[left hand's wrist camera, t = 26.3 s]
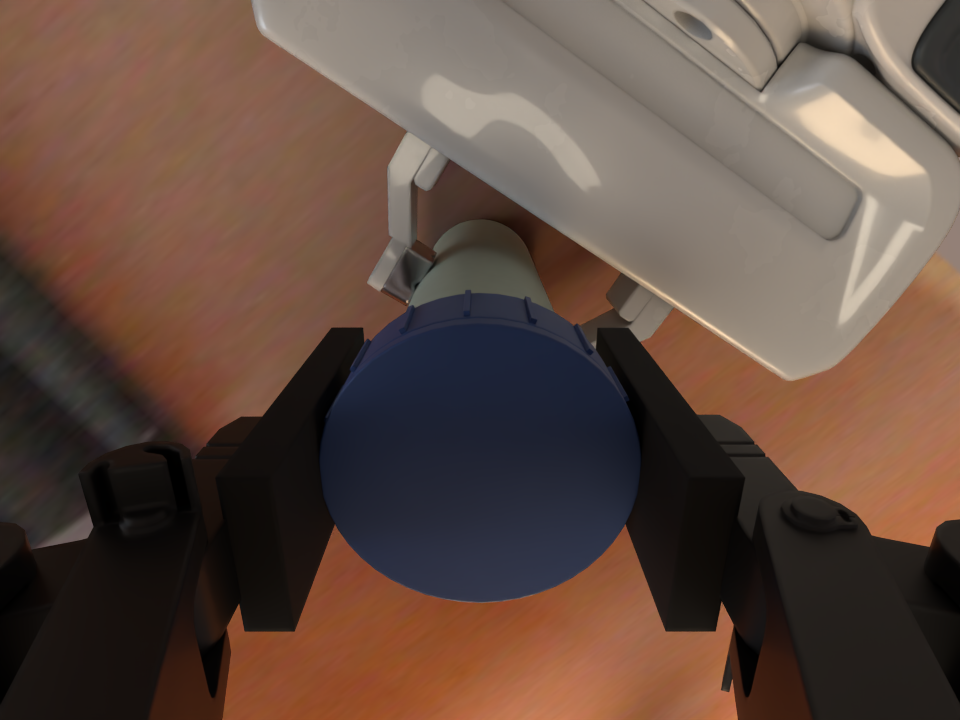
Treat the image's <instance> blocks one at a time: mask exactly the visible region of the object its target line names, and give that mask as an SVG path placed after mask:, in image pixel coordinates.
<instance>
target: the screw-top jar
mask: <svg viewBox="0 0 960 720" xmlns="http://www.w3.org/2000/svg"><path fill="white" fill-rule="evenodd" d="M433 250H434V251H435V252H437V254H436V257H435V258H434V262H433V264H432V266H431V267H430V269H429V271H428V272H427V274H426V276H425V277H424V278H423V280H422V281H421V282H419V283H418V285H417V288H416V290H415V293H414V295H413V297H412V299H411V301H410V304H409V306H411V305H414V307H415V308H416V307H418V306H420V305H422V304H425V303H427V302H430V301H433V300H436V299H439V298H443V297H448V296H453V295H458V294H465V290H471V293H491V294H501V295H507V296H512V297H517V298H521V299H524V298H525V296H527V297H530V298H531V301H532V302H533V303H536V304H538V305H540V306H542V307H544V308H547V309H549V310H551V311H553V312H554V310H553V308H552V306H551V303H550V301H549V299H548V296H547V294H546V291H545V289H544V287H543V284H542V282H541V280H540V277H539V275H538V273H537V270H536V268H535V265H534V263H533V261H532V258H531V256H530V254H529V251H528V249H527V247H526V245H525V244H524V242H523V241H522V239H521V238H520V237H519V236H518V235H517V234H516V233H515V232H514V231H513V230H511V229H510V228H509V227H507V226H505V225H503V224H501V223H498V222H495V221H491V220H484V219H475V220H469V221H465V222H462V223H460V224H457V225H455V226H454V227H452V228H450V229H449V230H448V231H447V232H445V233H444V234H443V235H442V236H441V237H440V239H439V240H438V241H437V243H436V244H435V246H434V248H433ZM409 306H408V307H409Z"/></svg>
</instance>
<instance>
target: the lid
mask: <svg viewBox="0 0 960 720" xmlns="http://www.w3.org/2000/svg"><path fill="white" fill-rule="evenodd" d="M349 370H350V371H351V373H350V375H349V376H348V378H347V380H346V382H345V384H344V385H342V387H341V389H340V391H339V392H338V394H337V396H336V398H335V400H334V401H333V403H332V405H331V407H330V409H329V410H328V412H327V414H326V416H325V418H324V422H325V425H324V429H323V433H322V437H321V441H320V450H319V464H320V473H321V482H322V490H323V497H324V500H325V502H326V505H327V508H328V511H329V513H330V515H331V517H332V519H333V521H334V523H335V525H336V527H337V528H338V530H339V531H340V533H341V534H342V536H343V537H344V538H345V540H346V541H347V543H348V544H349V545H350V546H351V547H352V548H353V549H354V550H355V551H356V553H357V554H358V555H359V556H360V557H361V558H362V559H364V560H365V561H366V562H367V563H368V564H370V565H371V566H372V567H373V568H374V569H376V570H377V571H379V572H380V573H382V574H383V575H385V576H386V577H388V578H389V579H391V580H393V581H395V582H397V583H399V584H401V585H403V586H405V587H407V588H409V589H412V590H415V591H417V592H420V593H423V594H426V595H430V596H433V597H437V598H441V599H446V600H453V601H460V602H477V603H485V602H501V601H507V600H513V599H519V598H523V597H527V596H530V595H534V594H538V593H540V592H543V591H545V590H548V589H551V588H553V587H556V586H558V585H559V584H561V583H563V582H565V581H567V580H569V579H571V578H573V577H574V576H576V575H577V574H578V573H580V572H581V571H583V570H584V569H586V568H587V567H588V566H590V565H591V564H592V563H593V562H594V561H595V560H597V559H598V558H599V557H600V556H601V555H602V554H603V553H604V552H605V551H606V550H607V548H608V547H609V546H610V545H611V544H612V543H613V542H614V540H615V539H616V537H617V536H618V534H619V533H620V532H621V530H622V529H623V527H624V525H625V523H626V521H627V519H628V517H629V515H630V513H631V511H632V509H633V506H634V503H635V500H636V497H637V493H638V485H639V477H640V467H641V449H640V441H639V436H638V432H637V429H636V425H635V422H634V419H633V417H632V415H631V412H630V410H629V408H628V406H627V404H626V402H627V401H629V398H628V396H627V394H626V392H625V391H624V389H623V387H622V385H621V384H620V382H619V380H618V378H617V377H616V375H615V373H614V371H613V370H612V368H611V366H609V367H606V365H605V363H604V361H603V360H602V358H601V357H600V355H599V354H598V352H597V351H596V349H595V348H594V346H593V345H592V344H591V343H590V342H589V341H588V339H587V338H586V336H585V334H584V332H583V330H582V329H581V327H580V326H579V325H578V324H576V325H575V326H573V325H572V324H571V323H570V322H568V321H567V320H565V319H564V318H562V317H561V316H559V315H558V314H556V313H554V312H553V311H551V310H549V309H547V308H544V307H542V306H540V305H538V304H536V303H533V302H532V301H531V298H530V297H527V296H525V298H524V299H521V298H517V297H512V296H507V295H501V294H491V293H471V290H465V294H458V295H453V296H448V297H443V298H439V299H436V300H433V301H430V302H427V303H425V304H422V305H420V306H418V307H416V308H415V307H414V305H411V306H409V307H408V309H407V311H406V313H404V314H402V315H401V316H399V317H398V318H397V319H395V320H394V321H392V322H391V323H389V324H388V325H387V326H386V327H385V328H384V329H383V330H381V331H380V332H379V333H378V334H377V335H376V336H375V337H374V338H373V340H372V341H370V340H369V339H367V340H366V341H365V343H364V344H363V346H362V348H361V350H360V352H359V353H358V355H357V357H356V359H355V360H354V362H353V364H352V366H351V367H350V369H349Z"/></svg>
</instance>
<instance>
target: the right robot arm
mask: <svg viewBox="0 0 960 720" xmlns="http://www.w3.org/2000/svg"><path fill="white" fill-rule="evenodd" d="M251 3H252V7H253V12H254V17H255V20H256V24H257V28H258V29H259V31H260V32H261V34H262V35H263V36H265V37H266V38H268V39H269V40H271V41H272V42H273V43H275V44H276V45H278V46H279V47H281V48H282V49H284V50H285V51H287V52H289V53H290V54H292V55H293V56H295V57H296V58H298V59H299V60H301V61H302V62H304V63H305V64H307V65H308V66H310V67H311V68H313V69H314V70H316V71H317V72H319V73H320V74H322V75H323V76H325V77H326V78H328V79H329V80H331V81H332V82H334V83H335V84H337V85H338V86H340V87H341V88H343V89H345V90H346V91H348V92H349V93H351V94H352V95H354V96H355V97H357V98H358V99H360V100H361V101H363V102H364V103H366V104H367V105H369V106H370V107H372V108H373V109H375V110H376V111H378V112H379V113H381V114H382V115H384V116H385V117H387V118H388V119H390V120H391V121H393V122H394V123H396V124H397V125H399V126H400V127H402V128H404V129H405V130H407V132H406V134H405V136H404V138H403V139H402V141H401V143H400V145H399V147H398V149H397V150H396V152H395V154H394V156H393V158H392V160H391V161H390V163H389V165H388V167H387V176H388V221H389V235H390V236H391V237H392V239H391V240H390V242H389V244H388V246H387V247H386V249H385V251H384V253H383V254H382V256H381V258H380V260H379V262H378V263H377V265H376V267H375V269H374V270H373V272H372V274H371V276H370V277H369V280H368V282H367V284H369V285H370V286H372V287H373V288H375V289H376V290H378V291H381V292H382V293H384V294H386V295H388V296H389V297H391V298H393V299H395V300H396V301H398V302H400V303H402V304H403V305H405V306H407V305H408V303H409V302H410V300H411V299H412V297H413V295H414V293H415V290H416V288H417V285H418V283H419V282H421V281H422V280H423V278H424V277H425V276H426V274H427V272H428V271H429V269H430V267H431V266H432V264H433V262H434V258H435V257H436V254H437V252H435V251H434V250H432V249H431V248H429V247H427V246H426V245H424V244H423V243H421V242H420V241H418V240H417V204H418V187H420V188H422V189H423V190H425V191H428V190H431V189H432V188H433V187H434V186H435V185H436V183H437V182H438V180H439V178H440V176H441V175H442V173H443V171H444V170H445V168H446V166H447V165H448V163H449V161H450V160H452V161H453V162H455V163H456V164H458V165H460V166H461V167H463V168H464V169H466V170H467V171H469V172H470V173H472V174H473V175H475V176H476V177H478V178H479V179H481V180H482V181H484V182H485V183H487V184H488V185H490V186H491V187H493V188H494V189H496V190H497V191H499V192H500V193H502V194H503V195H505V196H506V197H508V198H509V199H511V200H512V201H514V202H516V203H517V204H519V205H520V206H522V207H523V208H525V209H526V210H528V211H529V212H531V213H532V214H534V215H535V216H537V217H538V218H540V219H541V220H543V221H544V222H546V223H547V224H549V225H550V226H552V227H553V228H555V229H556V230H558V231H559V232H561V233H562V234H564V235H565V236H567V237H568V238H570V239H571V240H573V241H575V242H576V243H578V244H579V245H581V246H582V247H584V248H585V249H587V250H588V251H590V252H591V253H593V254H594V255H596V256H597V257H599V258H600V259H602V260H603V261H605V262H606V263H608V264H609V265H611V266H612V267H614V268H615V269H617V270H618V271H620V272H621V274H620V275H619V277H618V278H617V280H616V281H615V282H614V284H613V285H612V287H611V288H610V289H609V291H608V292H607V294H606V299H607V300H608V301H609V303H610V304H611V305H612V306H613V308H614V309H612V310H610V311H608V312H606V313H604V314H602V315H600V316H598V317H596V318H594V319H592V320H590V321H588V322H586V323H584V324H582V325H581V326H580V327H581V329H582V330H583V332H584V334H585V336H586V338H587V339H588V341H589V342H590V343H591V344H592V345H593V346H594V348H595V349H596V338H597V328H629V329H630V330H631V331H632V333H633V334H634V335H635V336H636V338H637V339H638V340H639V342H640V341H643V340H645V339H647V338H650V337H651V336H652V335H653V333H654V332H655V331H656V330H657V328H658V327H659V326H660V325H661V323H662V322H663V321H664V320H665V318H666V317H667V316H668V314H669V313H670V312H671V311H672V309H673V308H676V309H677V310H679V311H680V312H682V313H683V314H685V315H687V316H688V317H690V318H691V319H693V320H694V321H696V322H697V323H699V324H700V325H702V326H703V327H705V328H706V329H708V330H709V331H711V332H712V333H714V334H715V335H717V336H718V337H720V338H721V339H723V340H724V341H726V342H727V343H729V344H730V345H732V346H733V347H735V348H736V349H738V350H739V351H741V352H742V353H744V354H746V355H747V356H749V357H750V358H752V359H753V360H755V361H756V362H758V363H759V364H761V365H762V366H764V367H765V368H767V369H768V370H770V371H771V372H773V373H774V374H776V375H777V376H779V377H780V378H782V379H784V380H787V381H793V380H798V379H801V378H805V377H808V376H812V375H815V374H818V373H821V372H824V371H827V370H829V369H831V368H832V367H834V366H835V365H837V364H838V363H839V362H840V361H841V360H843V359H844V358H845V357H846V356H847V355H848V354H849V353H850V352H851V351H852V350H853V349H854V348H855V347H856V346H857V345H858V344H859V343H860V342H861V340H862V339H863V338H864V337H865V336H866V335H867V334H868V333H869V332H870V331H871V330H872V329H873V327H874V326H875V325H876V324H877V323H878V322H879V321H880V320H881V318H882V317H883V316H884V315H885V314H886V313H887V311H888V310H889V309H890V308H891V307H892V306H893V305H894V303H895V302H896V301H897V300H898V299H899V297H900V296H901V295H902V294H903V293H904V291H905V290H906V289H907V288H908V287H909V285H910V284H911V283H912V282H913V280H914V279H915V278H916V277H917V275H918V274H919V273H920V271H921V270H922V269H923V268H924V266H925V265H926V264H927V262H928V261H929V260H930V259H931V257H932V256H933V255H934V253H935V252H936V250H937V249H938V248H939V246H940V245H941V243H942V242H943V240H944V239H945V237H946V236H947V234H948V233H949V231H950V229H951V227H952V226H953V224H954V222H955V219H956V217H957V215H958V212H959V210H960V160H959V158H958V157H960V0H251Z"/></svg>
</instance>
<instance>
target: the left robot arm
mask: <svg viewBox="0 0 960 720" xmlns="http://www.w3.org/2000/svg"><path fill="white" fill-rule="evenodd" d="M363 344H364V333H363V328H331V329H330V331H329V332H328V333H327V334H326V336H325V337H324V338H323V340H322V341H321V342H320V343H319V345H318V346H317V347H316V348H315V350H314V351H313V352H312V354H311V355H310V356H309V357H308V359H307V360H306V361H305V363H304V364H303V365H302V366H301V368H300V369H299V370H298V372H297V373H296V374H295V375H294V377H293V378H292V379H291V381H290V382H289V383H288V384H287V386H286V387H285V388H284V390H283V391H282V392H281V393H280V395H279V396H278V397H277V399H276V400H275V401H274V402H273V404H272V405H271V406H270V408H269V409H268V410H267V411H266V413H265V414H264V415H263V417H240V418H238V419H236V420H235V421H233V422H231V423H229V424H228V425H226V426H224V427H223V428H221V429H219V430H218V431H217V433H216V434H215V435H214V436H213V437H212V438H211V439H210V440H209V442H208V443H207V444H206V447H203V448H202V449H201V451H200V452H199V453H198V454H197V455H196V458H195V459H192V458H191V453H190V449H188V448H187V447H185V446H184V445H182V444H180V443H174V442H169V441H156V442H144V443H139V444H134V445H129V446H125V447H123V448H120V449H117V450H114V451H111V452H108V453H106V454H104V455H102V456H100V457H99V458H97V459H95V460H93V461H91V462H90V463H88V464H87V465H86V466H85V467H84V468H83V469H82V470H81V471H80V472H79V473H78V475H79V478H80V482H81V485H82V489H83V492H84V495H85V499H86V502H87V506H88V509H89V513H90V516H91V519H92V523H93V526H94V527H93V529H92V531H91V533H90V535H89V537H88V538H87V539H83V540H79V541H74V542H69V543H63V544H58V545H53V546H48V547H42V548H37V549H32V550H31V547H30V544H29V541H28V538H27V535H26V532H25V530H24V529H23V528H21V527H20V526H18V525H17V524H15V523H5V522H0V720H222V717H223V710H224V702H225V694H226V687H227V679H228V671H229V664H230V656H231V649H230V642H229V637H228V632H227V626H228V624H229V622H230V620H231V618H232V616H233V614H234V612H235V610H236V608H237V606H238V604H240V609H241V615H242V620H243V625H244V630H245V631H295V629H296V626H297V624H298V621H299V618H300V616H301V613H302V610H303V608H304V605H305V602H306V600H307V597H308V594H309V592H310V589H311V586H312V584H313V581H314V578H315V576H316V573H317V570H318V568H319V565H320V562H321V560H322V557H323V554H324V552H325V549H326V546H327V544H328V541H329V538H330V536H331V533H332V530H333V528H334V525H335V523H334V521H333V519H332V517H331V515H330V513H329V511H328V508H327V505H326V502H325V500H324V497H323V490H322V482H321V473H320V464H319V450H320V441H321V437H322V433H323V429H324V425H325V422H324V418H325V416H326V414H327V412H328V410H329V409H330V407H331V405H332V403H333V401H334V400H335V398H336V396H337V394H338V392H339V391H340V389H341V387H342V385H344V384H345V382H346V380H347V378H348V376H349V375H350V373H351V371H350V370H349V369H350V367H351V366H352V364H353V362H354V360H355V359H356V357H357V355H358V353H359V352H360V350H361V348H362V346H363ZM596 351H597V352H598V354H599V355H600V357H601V358H602V360H603V361H604V363H605V365H606V367H609V366H611V368H612V370H613V371H614V373H615V375H616V377H617V378H618V380H619V382H620V384H621V385H622V387H623V389H624V391H625V392H626V394H627V396H628V398H629V401H627V402H626V404H627V406H628V408H629V410H630V412H631V415H632V417H633V419H634V422H635V425H636V429H637V432H638V436H639V441H640V449H641V467H640V477H639V485H638V493H637V497H636V500H635V503H634V506H633V509H632V511H631V513H630V515H629V517H628V519H627V521H626V523H625V524H626V527H627V529H628V532H629V535H630V537H631V540H632V543H633V545H634V548H635V551H636V553H637V556H638V559H639V561H640V564H641V567H642V569H643V572H644V575H645V577H646V580H647V583H648V585H649V588H650V591H651V593H652V596H653V599H654V601H655V604H656V607H657V609H658V612H659V615H660V617H661V620H662V623H663V625H664V628H665V631H716V627H717V622H718V617H719V611H720V606H721V601H722V603H723V604H724V606H725V608H726V610H727V612H728V614H729V616H730V618H731V620H732V622H733V624H734V627H733V632H732V637H731V641H730V646H729V651H728V656H727V661H726V666H725V670H724V675H723V681H722V688H721V690H723V691H727V692H729V691H730V686H731V681H732V679H733V685H734V693H735V701H736V708H737V716H738V720H960V520H950V521H945V522H944V523H942V524H941V525H939V526H938V527H937V528H936V531H935V534H934V537H933V539H932V542H931V545H930V547H927V546H921V545H916V544H911V543H906V542H900V541H895V540H890V539H885V538H880V537H876V536H872V535H871V534H870V532H869V530H868V528H867V526H866V525H865V524H864V523H863V521H862V520H861V519H860V518H859V517H858V516H857V514H855V513H854V512H852V511H851V510H849V509H848V508H846V507H845V506H843V505H842V504H840V503H837V502H835V501H833V500H830V499H828V498H826V497H823V496H820V495H816V494H812V493H808V492H804V491H798V490H797V489H796V488H795V486H794V485H793V484H792V483H791V482H790V481H789V480H788V479H787V478H786V476H785V475H784V474H783V473H782V472H781V471H780V470H779V469H778V468H777V466H776V465H775V464H774V463H773V462H772V461H771V460H770V459H769V458H768V457H765V453H764V452H763V451H762V450H761V449H760V448H759V446H758V445H755V444H754V441H753V440H752V439H751V438H750V436H749V435H748V434H747V433H746V432H745V431H744V430H743V429H742V428H741V427H740V426H738V425H736V424H735V423H733V422H731V421H729V420H728V419H726V418H724V417H722V416H721V415H696V413H695V412H694V411H693V410H692V408H691V407H690V406H689V404H688V403H687V402H686V401H685V399H684V398H683V397H682V395H681V394H680V393H679V392H678V390H677V389H676V388H675V387H674V385H673V384H672V383H671V381H670V380H669V379H668V378H667V376H666V375H665V374H664V372H663V371H662V370H661V369H660V367H659V366H658V365H657V363H656V362H655V361H654V360H653V358H652V357H651V356H650V354H649V353H648V352H647V351H646V349H645V348H644V347H643V345H642V344H641V343H640V342H639V340H638V339H637V338H636V336H635V335H634V334H633V333H632V331H631V330H630V329H629V328H597V338H596Z"/></svg>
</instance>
